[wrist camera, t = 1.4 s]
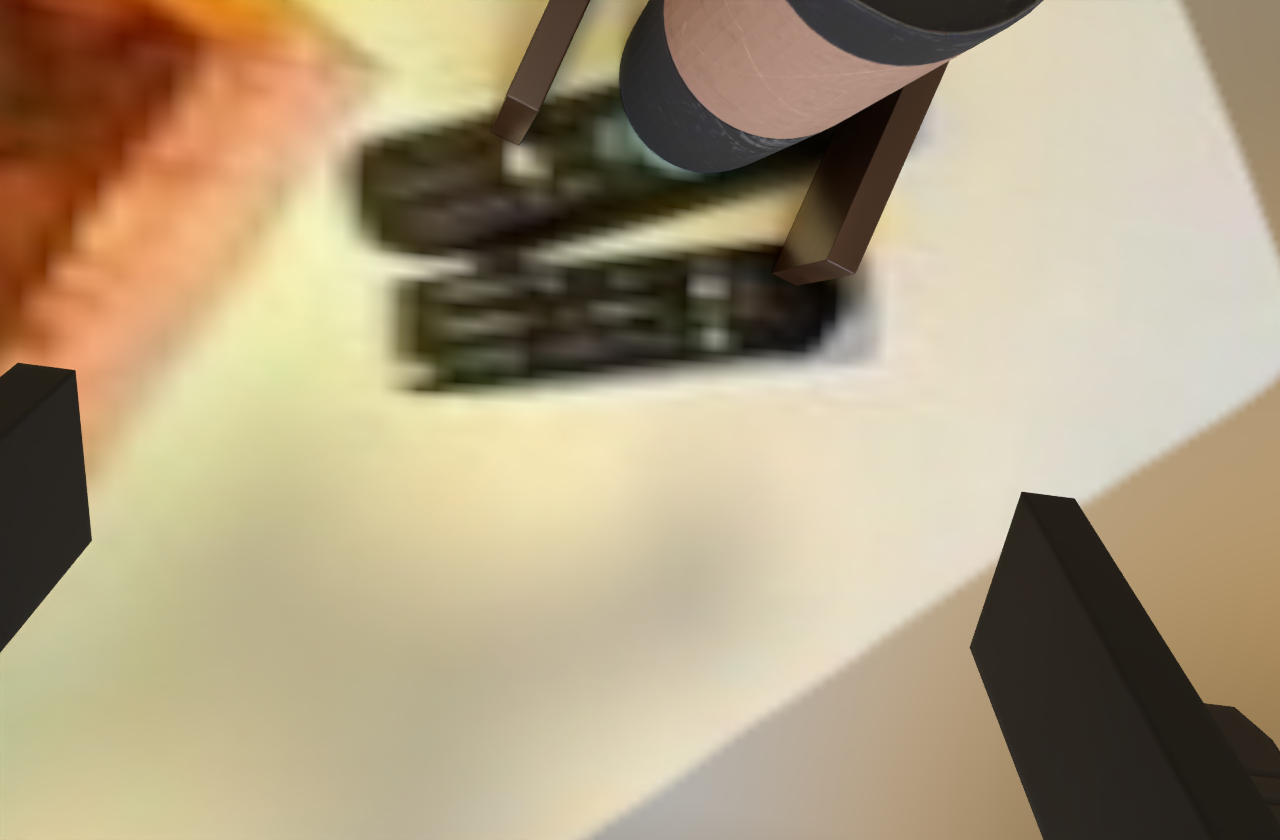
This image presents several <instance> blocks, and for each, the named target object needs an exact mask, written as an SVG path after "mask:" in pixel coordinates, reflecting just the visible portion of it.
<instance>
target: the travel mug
mask: <svg viewBox="0 0 1280 840" xmlns="http://www.w3.org/2000/svg"><path fill="white" fill-rule="evenodd" d="M1042 1H1043V0H649V2H648V3H647V5H646V7H645V8H644V10H643V12H642V14H641V15H640V17H639V19H638V20H637V22H636V24H635V26H634V28H633V30H632V32H631V34H630V36H629V38H628V40H627V42H626V45H625V48H624V51H623V54H622V59H621V65H620V91H621V96H622V101H623V105H624V108H625V111H626V114H627V116H628V118H629V120H630V122H631V124H632V126H633V128H634V129H635V131H636V132H637V134H638V135H639V137H640V138H641V139H642V140H643V141H644V143H645V144H646V145H647V146H648V147H649V148H650V149H651V150H653V151H654V152H655V153H656V154H658V155H659V156H660V157H662V158H663V159H665V160H666V161H668V162H670V163H672V164H674V165H676V166H679V167H681V168H684V169H687V170H691V171H695V172H704V173H717V172H724V171H730V170H733V169H736V168H739V167H743V166H745V165H748V164H750V163H753V162H755V161H757V160H760V159H762V158H764V157H766V156H769V155H771V154H773V153H775V152H778V151H780V150H782V149H784V148H787V147H789V146H791V145H793V144H796V143H798V142H800V141H802V140H805V139H807V138H809V137H811V136H814V135H816V134H818V133H820V132H822V131H824V130H826V129H828V128H830V127H832V126H835V125H836V124H838V123H840V122H842V121H843V120H845V119H847V118H849V117H851V116H852V115H854V114H856V113H858V112H859V111H861V110H863V109H865V108H866V107H868V106H870V105H872V104H874V103H875V102H877V101H879V100H881V99H882V98H884V97H886V96H888V95H889V94H891V93H893V92H895V91H897V90H898V89H900V88H902V87H904V86H905V85H907V84H909V83H911V82H912V81H914V80H916V79H918V78H920V77H921V76H923V75H925V74H927V73H928V72H930V71H932V70H934V69H935V68H937V67H939V66H941V65H943V64H944V63H946V62H948V61H950V60H951V59H953V58H955V57H957V56H958V55H960V54H962V53H964V52H966V51H967V50H969V49H971V48H973V47H974V46H976V45H978V44H980V43H982V42H983V41H985V40H987V39H989V38H990V37H992V36H994V35H996V34H997V33H999V32H1001V31H1003V30H1005V29H1006V28H1008V27H1010V26H1011V25H1013V24H1014V23H1016V22H1017V21H1019V20H1020V19H1021V18H1023V17H1024V16H1026V15H1027V14H1029V13H1030V12H1031V11H1032V10H1033V9H1034V8H1035V7H1037V6H1038V5H1039V4H1040V3H1041V2H1042Z"/></svg>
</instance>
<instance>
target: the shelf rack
mask: <svg viewBox="0 0 1280 840" xmlns="http://www.w3.org/2000/svg"><path fill="white" fill-rule="evenodd" d="M589 1H590V0H549V2H548V5H547V7H546V9H545V11H544V13H543V15H542V18H541V20H540V22H539V24H538V26H537V29H536V31H535V33H534V35H533V37H532V39H531V42H530V44H529V46H528V48H527V50H526V52H525V55H524V57H523V59H522V61H521V63H520V65H519V68H518V70H517V72H516V74H515V76H514V79H513V81H512V83H511V85H510V87H509V89H508V92H507V94H506V96H505V98H504V101H503V103H502V105H501V108H500V110H499V112H498V115H497V117H496V119H495V122H494V124H493V126H492V129H491V132H493V133H495V134H497V135H499V136H501V137H503V138H505V139H507V140H509V141H511V142H513V143H515V144H517V145H519V144H520V143H521V141H522V139H523V138H524V136H525V134H526V133H527V131H528V129H529V128H530V126H531V124H532V123H533V121H534V119H535V117H536V116H537V114H538V112H539V111H540V108H541V106H542V104H543V102H544V100H545V97H546V95H547V93H548V91H549V89H550V87H551V84H552V82H553V80H554V78H555V76H556V73H557V71H558V69H559V67H560V65H561V63H562V60H563V58H564V56H565V54H566V52H567V49H568V47H569V45H570V43H571V41H572V39H573V36H574V34H575V32H576V30H577V28H578V25H579V23H580V21H581V19H582V17H583V15H584V12H585V10H586V8H587V6H588V4H589ZM948 63H949V61H948V62H946V63H944V64H943V65H941V66H939V67H937V68H935V69H934V70H932V71H930V72H928V73H927V74H925V75H923V76H921V77H920V78H918V79H916V80H914V81H912V82H911V83H909V84H907V85H905V86H904V87H902V88H900V89H898V90H897V91H895V92H893V93H891V94H889V95H888V96H886V97H884V98H882V99H881V100H879V101H877V102H875V103H874V104H872V105H870V106H868V107H866V108H865V109H863V110H861V111H859V112H858V113H856V114H854V115H852V116H851V117H849V118H847V119H845V120H843V121H842V122H840V123H838V125H837V127H836V130H835V132H834V134H833V136H832V139H831V141H830V143H829V145H828V148H827V150H826V152H825V154H824V157H823V159H822V161H821V163H820V166H819V168H818V170H817V172H816V175H815V177H814V179H813V181H812V184H811V186H810V188H809V190H808V193H807V195H806V197H805V199H804V202H803V204H802V206H801V208H800V211H799V213H798V215H797V217H796V220H795V222H794V224H793V226H792V229H791V231H790V233H789V235H788V238H787V240H786V242H785V244H784V246H783V249H782V251H781V253H780V255H779V258H778V260H777V262H776V264H775V267H774V269H773V271H772V274H774V275H776V276H778V277H780V278H782V279H784V280H786V281H788V282H790V283H792V284H794V285H796V286H798V285H803V284H808V283H813V282H819V281H824V280H829V279H834V278H839V277H844V276H849V275H855V274H856V271H857V269H858V267H859V264H860V262H861V260H862V258H863V255H864V253H865V251H866V249H867V246H868V244H869V242H870V240H871V237H872V235H873V233H874V230H875V228H876V226H877V224H878V221H879V219H880V217H881V215H882V212H883V210H884V208H885V206H886V203H887V201H888V199H889V196H890V194H891V192H892V190H893V187H894V185H895V183H896V181H897V178H898V176H899V174H900V172H901V169H902V167H903V165H904V162H905V160H906V158H907V156H908V153H909V151H910V149H911V147H912V144H913V142H914V140H915V138H916V135H917V133H918V131H919V128H920V126H921V124H922V122H923V119H924V117H925V115H926V113H927V110H928V108H929V106H930V104H931V101H932V99H933V97H934V94H935V92H936V90H937V88H938V85H939V83H940V81H941V79H942V76H943V74H944V72H945V70H946V67H947V65H948Z"/></svg>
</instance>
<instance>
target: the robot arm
mask: <svg viewBox="0 0 1280 840" xmlns="http://www.w3.org/2000/svg"><path fill="white" fill-rule="evenodd" d="M91 541H92V537H91V527H90V517H89V506H88V496H87V485H86V475H85V465H84V454H83V444H82V434H81V423H80V413H79V402H78V392H77V382H76V371H75V370H69V369H62V368H54V367H46V366H38V365H31V364H23V363H17V364H16V365H15V366H13V367H12V368H11V369H10V370H8V371H7V372H6V373H5V374H4V375H2V376H1V377H0V652H1V651H2V650H3V649H4V648H5V646H6V645H7V644H8V643H9V641H10V640H11V639H12V638H13V637H14V635H15V634H16V633H17V632H18V630H19V629H20V628H21V627H22V625H23V624H24V623H25V622H26V621H27V619H28V618H29V617H30V616H31V614H32V613H33V612H34V611H35V610H36V608H37V607H38V606H39V605H40V603H41V602H42V601H43V600H44V599H45V597H46V596H47V595H48V594H49V592H50V591H51V590H52V589H53V588H54V586H55V585H56V584H57V583H58V581H59V580H60V579H61V578H62V577H63V575H64V574H65V573H66V572H67V570H68V569H69V568H70V567H71V565H72V564H73V563H74V562H75V561H76V559H77V558H78V557H79V556H80V554H81V553H82V552H83V551H84V550H85V548H86V547H87V546H88V545H89V543H90V542H91ZM970 649H971V652H972V655H973V657H974V660H975V663H976V665H977V668H978V670H979V673H980V676H981V678H982V681H983V683H984V686H985V689H986V691H987V694H988V696H989V699H990V702H991V704H992V707H993V710H994V712H995V715H996V717H997V720H998V723H999V725H1000V728H1001V730H1002V733H1003V736H1004V738H1005V741H1006V743H1007V746H1008V749H1009V751H1010V754H1011V756H1012V759H1013V762H1014V764H1015V767H1016V770H1017V772H1018V775H1019V777H1020V780H1021V783H1022V785H1023V788H1024V790H1025V793H1026V796H1027V798H1028V801H1029V803H1030V806H1031V809H1032V811H1033V814H1034V817H1035V819H1036V821H1037V824H1038V827H1039V829H1040V832H1041V835H1042V837H1043V840H1280V751H1279V749H1278V748H1277V746H1276V745H1275V743H1274V742H1273V740H1272V739H1271V738H1270V737H1268V736H1267V735H1266V734H1265V733H1264V732H1263V731H1261V730H1260V729H1259V728H1258V727H1257V726H1256V725H1255V724H1253V723H1252V722H1251V721H1250V720H1249V719H1248V718H1246V717H1245V716H1244V715H1243V714H1242V713H1241V712H1240V711H1238V710H1237V709H1236V708H1235V707H1230V706H1222V705H1213V704H1205V703H1203V702H1202V700H1201V698H1200V697H1199V695H1198V694H1197V692H1196V691H1195V689H1194V687H1193V686H1192V684H1191V682H1190V681H1189V679H1188V678H1187V676H1186V675H1185V673H1184V671H1183V670H1182V668H1181V667H1180V665H1179V663H1178V662H1177V661H1176V659H1175V657H1174V655H1173V654H1172V652H1171V651H1170V649H1169V647H1168V646H1167V644H1166V643H1165V641H1164V640H1163V638H1162V636H1161V635H1160V633H1159V632H1158V630H1157V629H1156V627H1155V625H1154V624H1153V622H1152V621H1151V619H1150V617H1149V616H1148V614H1147V613H1146V611H1145V609H1144V608H1143V606H1142V605H1141V603H1140V601H1139V600H1138V598H1137V597H1136V595H1135V594H1134V592H1133V590H1132V589H1131V587H1130V586H1129V584H1128V582H1127V581H1126V579H1125V578H1124V576H1123V574H1122V573H1121V571H1120V570H1119V568H1118V567H1117V565H1116V563H1115V562H1114V560H1113V559H1112V557H1111V555H1110V554H1109V552H1108V551H1107V549H1106V548H1105V546H1104V544H1103V543H1102V541H1101V540H1100V538H1099V536H1098V535H1097V533H1096V532H1095V530H1094V528H1093V527H1092V525H1091V524H1090V522H1089V521H1088V519H1087V517H1086V516H1085V514H1084V513H1083V511H1082V509H1081V508H1080V506H1079V505H1078V503H1077V501H1076V500H1075V499H1074V498H1066V497H1058V496H1051V495H1043V494H1035V493H1027V492H1021V495H1020V498H1019V501H1018V504H1017V507H1016V510H1015V513H1014V516H1013V519H1012V522H1011V525H1010V528H1009V531H1008V534H1007V537H1006V540H1005V543H1004V546H1003V549H1002V552H1001V555H1000V558H999V561H998V564H997V567H996V570H995V573H994V576H993V579H992V582H991V585H990V588H989V591H988V594H987V597H986V600H985V603H984V606H983V609H982V612H981V615H980V618H979V621H978V624H977V627H976V630H975V633H974V636H973V639H972V642H971V645H970Z"/></svg>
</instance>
